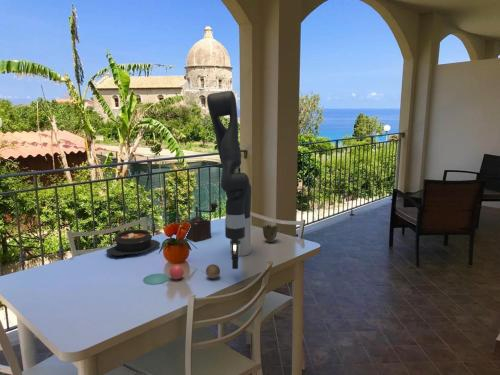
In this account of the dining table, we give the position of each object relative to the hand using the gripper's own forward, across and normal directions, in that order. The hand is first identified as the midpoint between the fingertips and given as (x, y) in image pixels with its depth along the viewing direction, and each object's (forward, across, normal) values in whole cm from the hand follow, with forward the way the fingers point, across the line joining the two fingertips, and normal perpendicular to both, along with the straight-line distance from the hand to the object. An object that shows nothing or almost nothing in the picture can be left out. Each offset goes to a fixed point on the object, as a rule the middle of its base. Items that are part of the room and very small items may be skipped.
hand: (235, 268), depth 149 cm
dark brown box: (+4, -53, -19) cm, 56 cm away
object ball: (+2, 0, -23) cm, 23 cm away
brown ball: (+1, 0, -9) cm, 9 cm away
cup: (+3, -44, +16) cm, 47 cm away
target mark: (+4, 0, -31) cm, 31 cm away
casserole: (+4, -32, -48) cm, 58 cm away
